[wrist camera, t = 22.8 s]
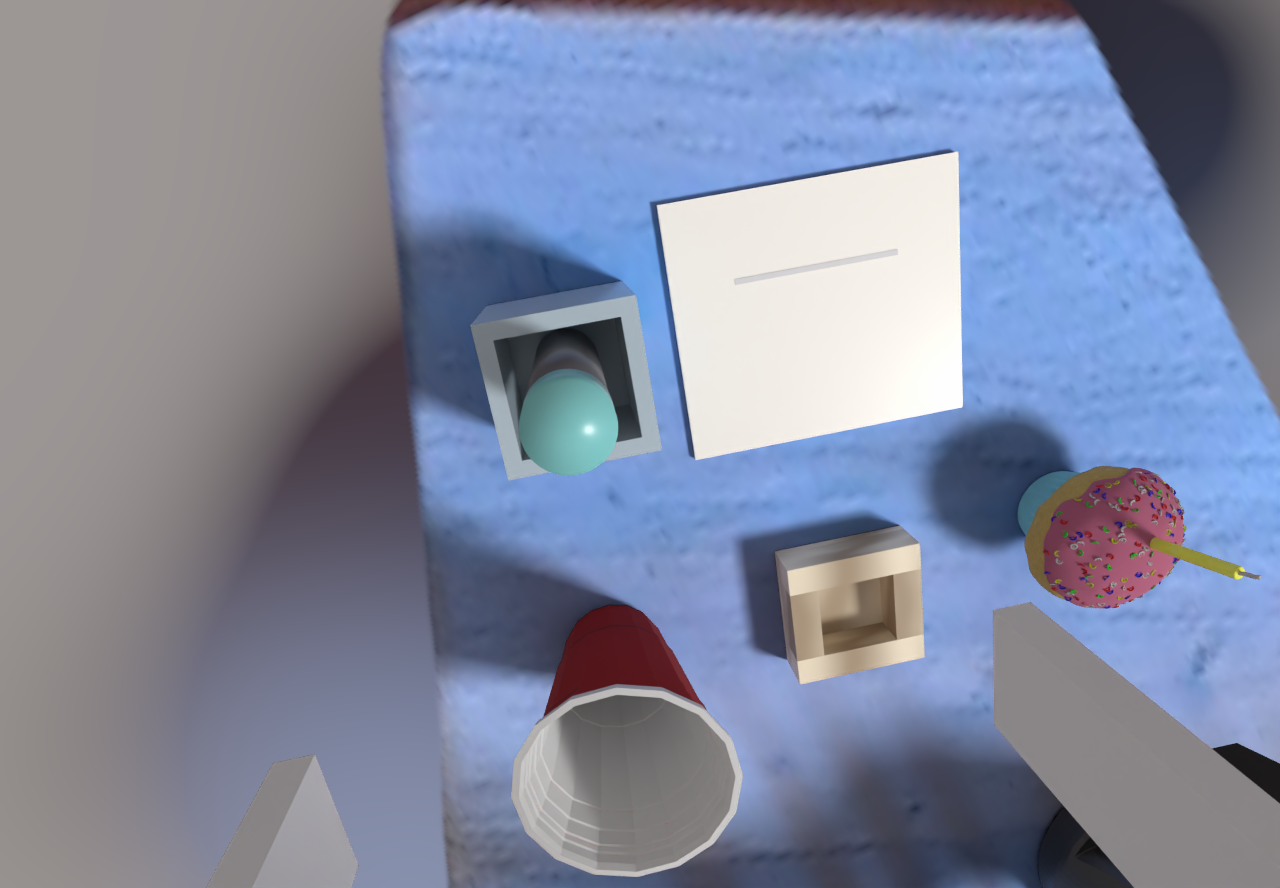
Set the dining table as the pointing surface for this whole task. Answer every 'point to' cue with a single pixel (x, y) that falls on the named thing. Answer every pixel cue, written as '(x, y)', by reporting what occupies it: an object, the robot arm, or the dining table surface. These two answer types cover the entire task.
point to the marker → (567, 406)
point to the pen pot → (617, 335)
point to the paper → (817, 303)
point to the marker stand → (851, 603)
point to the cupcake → (1106, 535)
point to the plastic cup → (624, 755)
